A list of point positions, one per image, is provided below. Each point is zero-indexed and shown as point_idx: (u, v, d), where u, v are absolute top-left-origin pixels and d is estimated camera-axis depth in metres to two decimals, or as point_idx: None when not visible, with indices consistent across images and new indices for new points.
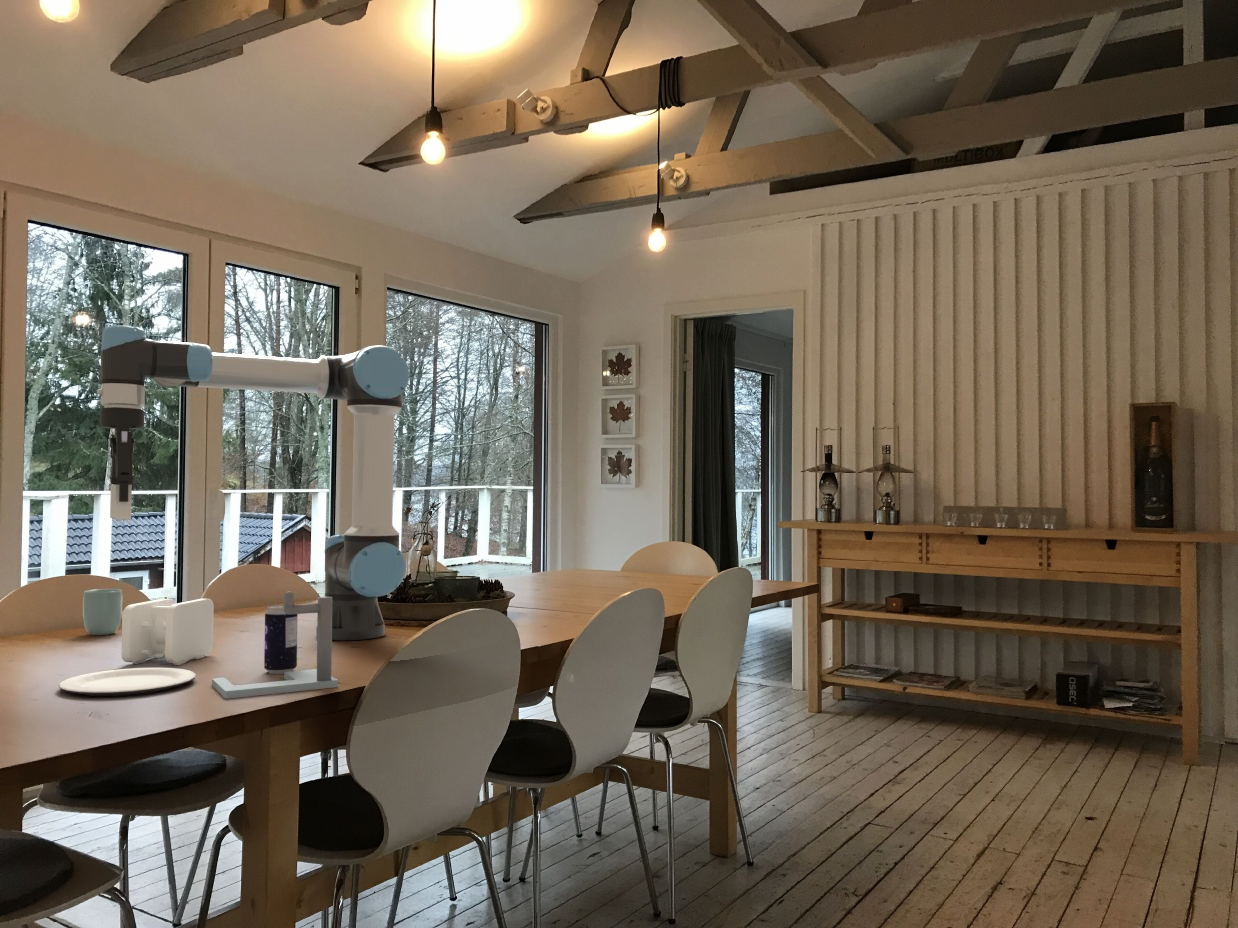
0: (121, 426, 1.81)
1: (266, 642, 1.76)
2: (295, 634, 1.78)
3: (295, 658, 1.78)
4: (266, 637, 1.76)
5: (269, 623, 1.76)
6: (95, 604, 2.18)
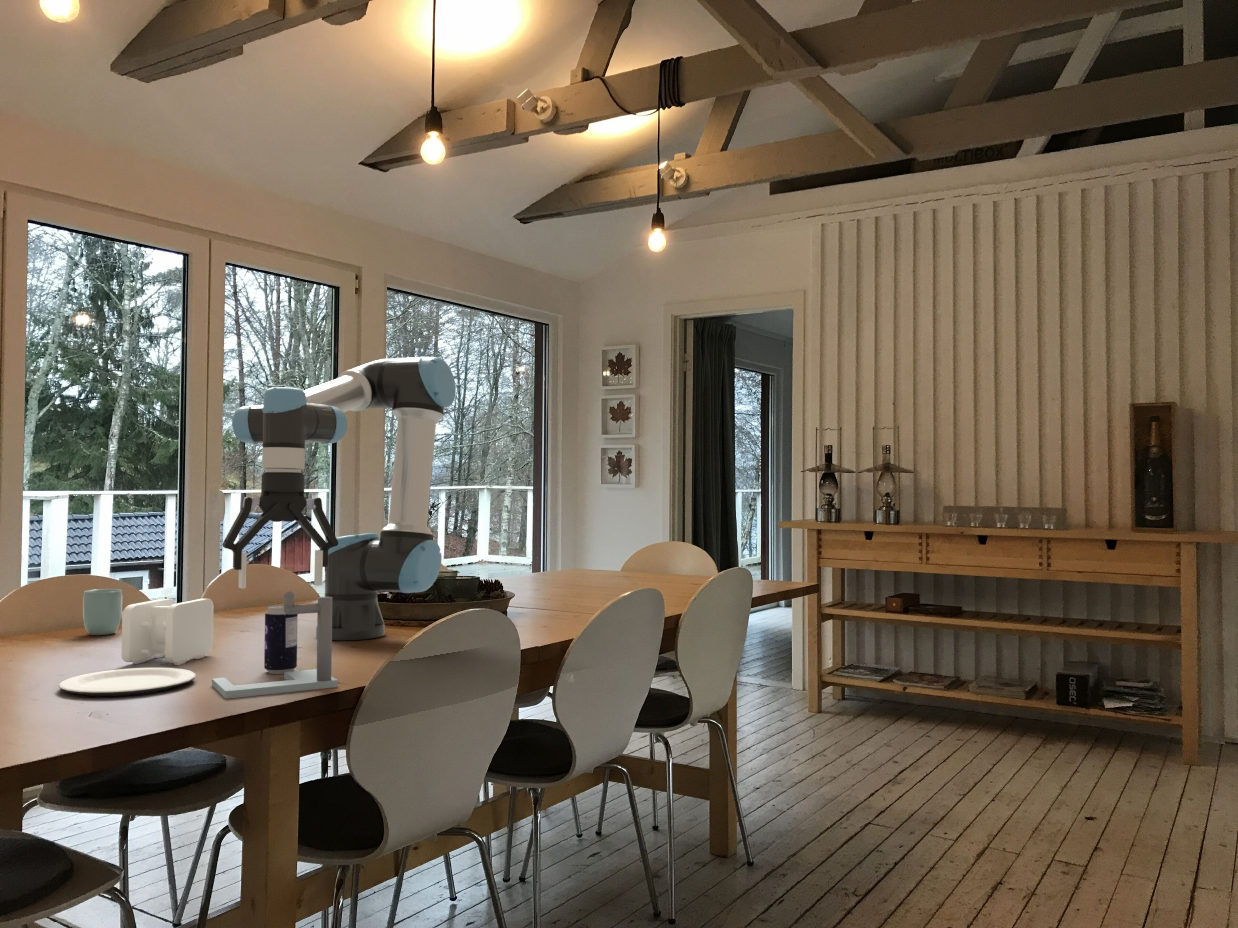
0: (261, 492, 1.77)
1: (266, 642, 1.76)
2: (295, 634, 1.78)
3: (295, 658, 1.78)
4: (266, 637, 1.76)
5: (269, 623, 1.76)
6: (95, 604, 2.18)
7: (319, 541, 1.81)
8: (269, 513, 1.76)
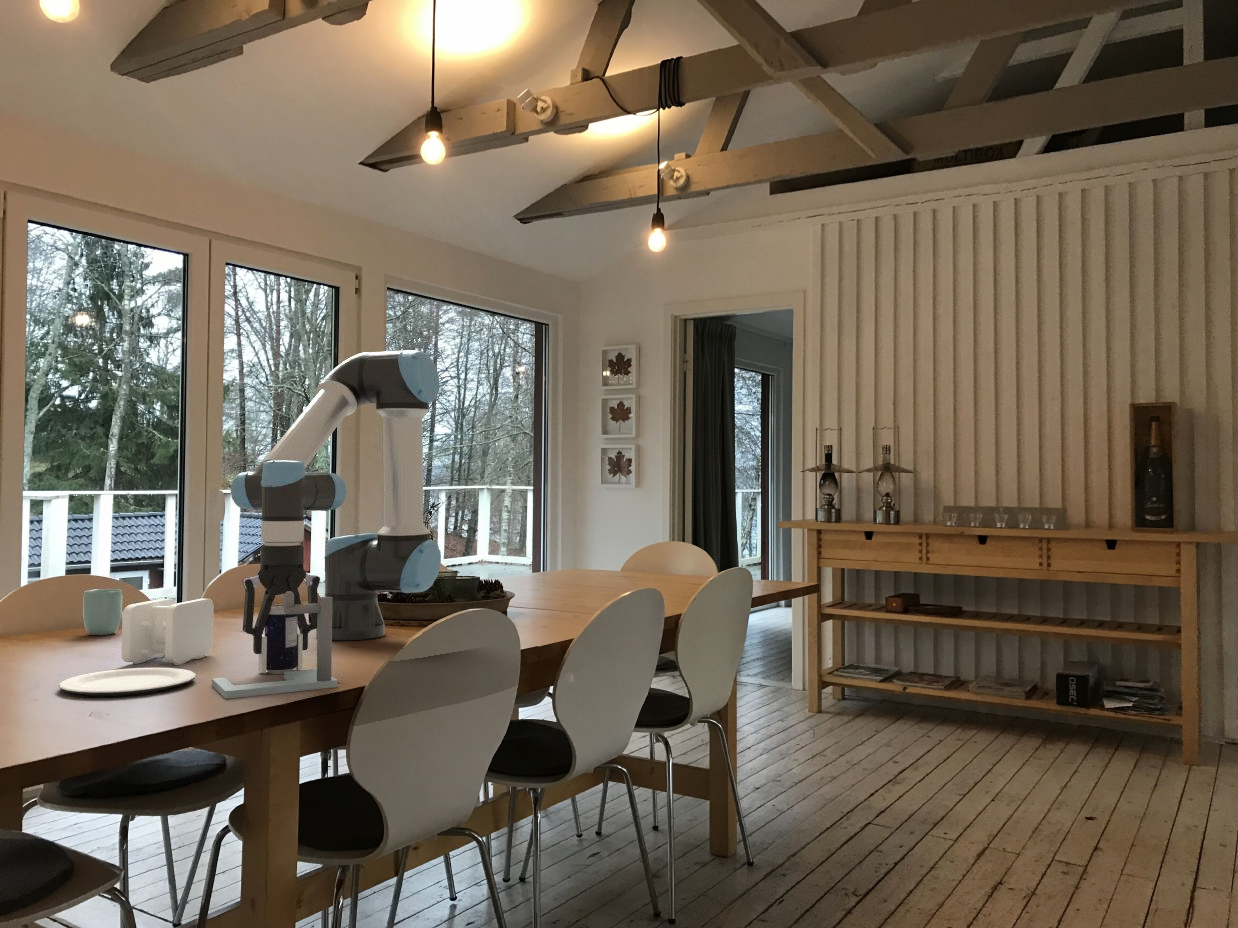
0: (260, 565, 1.77)
1: None
2: (295, 634, 1.78)
3: (295, 658, 1.78)
4: None
5: (269, 623, 1.76)
6: (95, 604, 2.18)
7: (302, 622, 1.79)
8: (272, 589, 1.76)
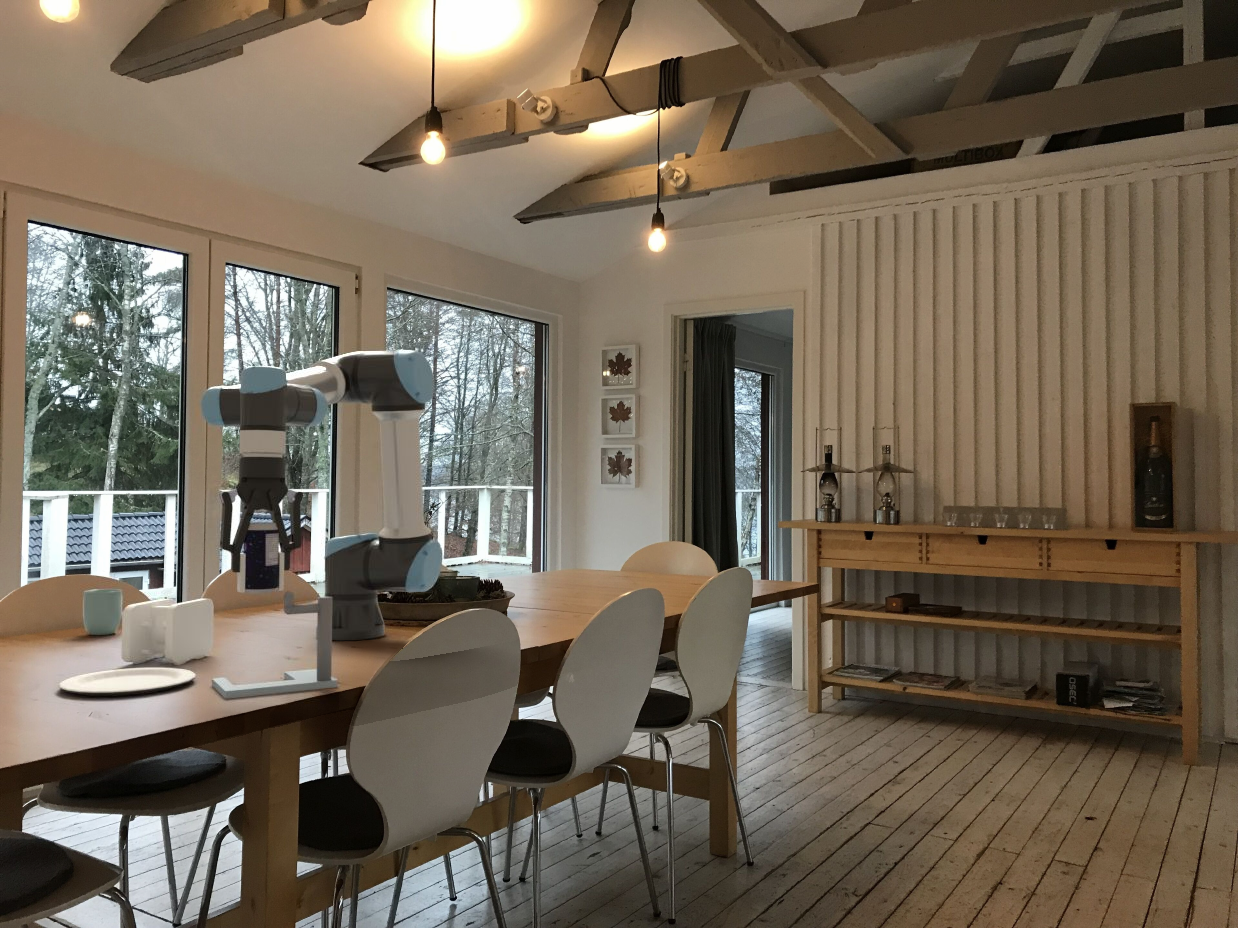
0: (239, 478, 1.65)
1: (245, 560, 1.64)
2: (276, 552, 1.66)
3: (276, 578, 1.66)
4: None
5: (248, 540, 1.64)
6: (95, 604, 2.18)
7: (283, 540, 1.67)
8: (251, 503, 1.64)
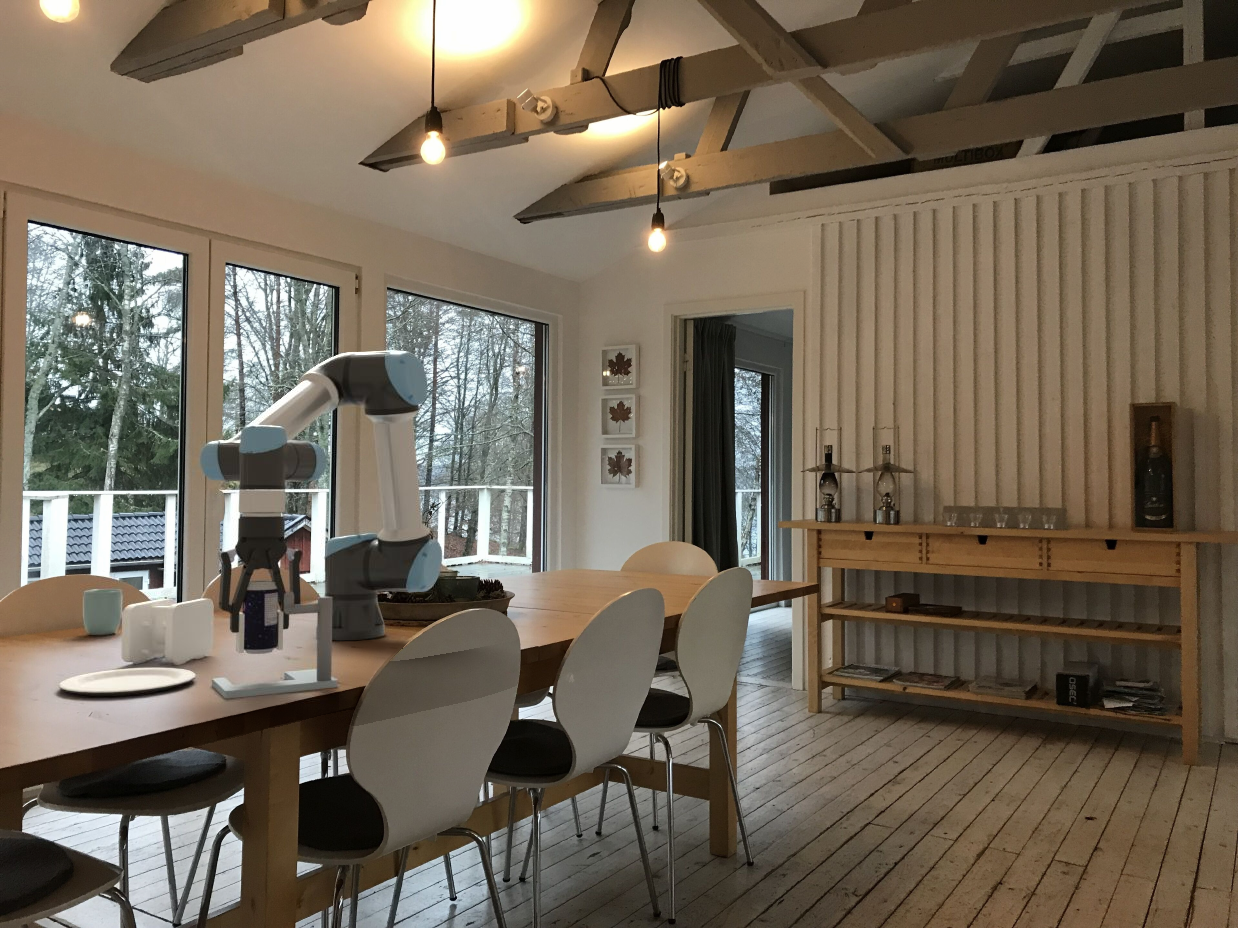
0: (238, 537, 1.65)
1: (244, 620, 1.64)
2: (275, 611, 1.66)
3: (275, 637, 1.66)
4: None
5: (247, 600, 1.64)
6: (95, 604, 2.18)
7: (282, 599, 1.67)
8: (250, 563, 1.64)
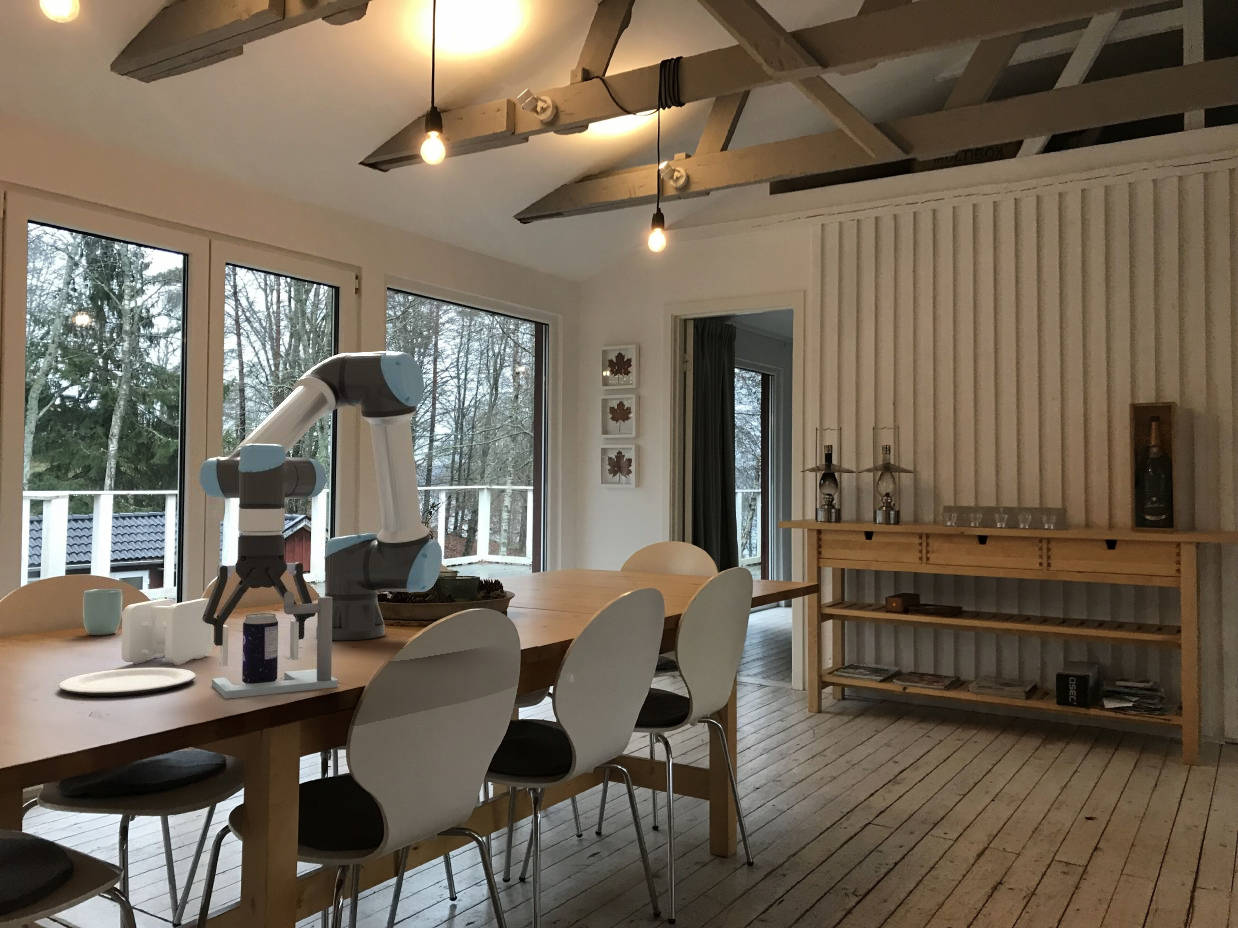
0: None
1: (244, 653, 1.64)
2: (275, 645, 1.66)
3: (275, 670, 1.66)
4: (244, 648, 1.64)
5: (247, 633, 1.64)
6: (95, 604, 2.18)
7: None
8: (247, 580, 1.64)
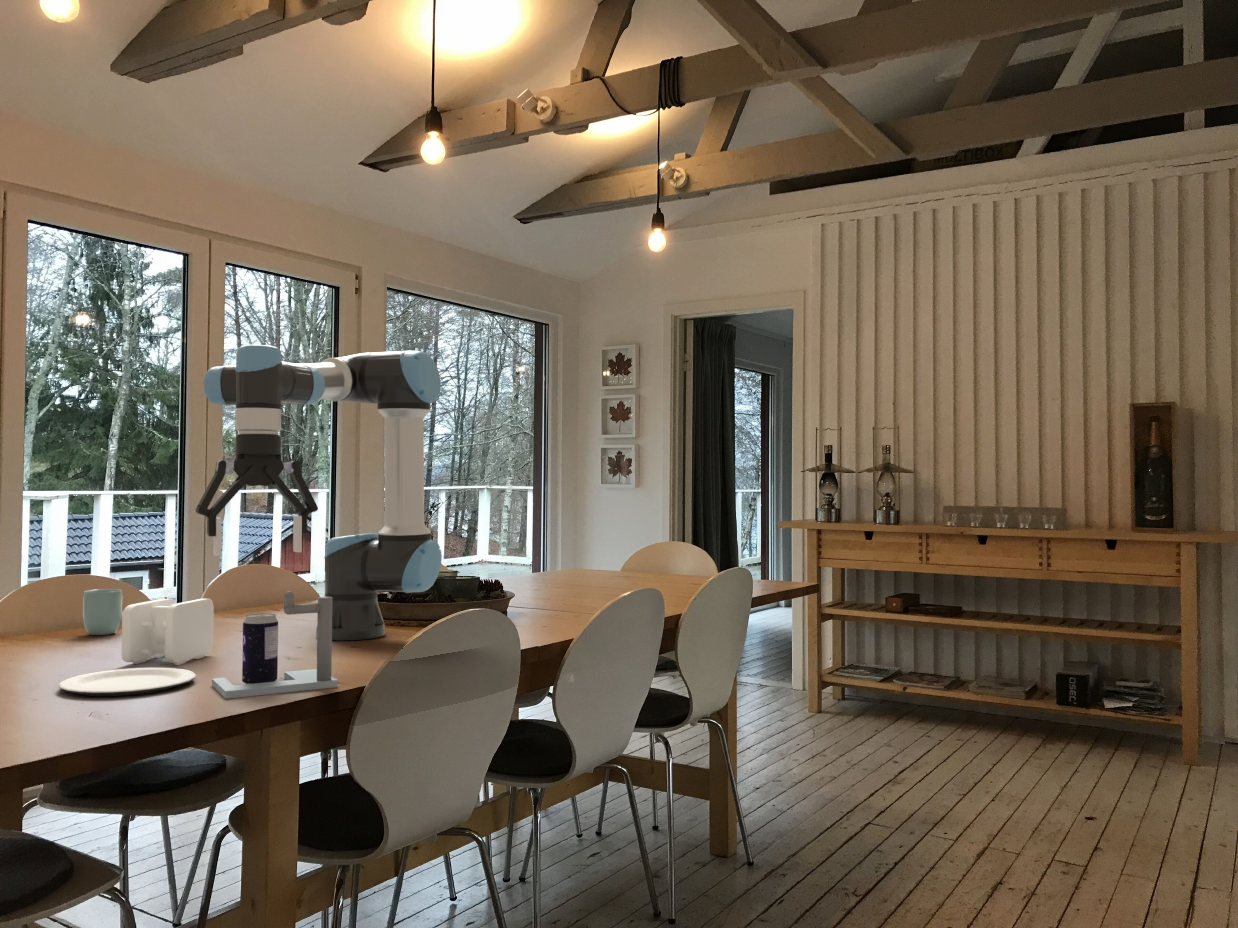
0: None
1: (244, 653, 1.64)
2: (275, 645, 1.66)
3: (275, 670, 1.66)
4: (244, 648, 1.64)
5: (247, 633, 1.64)
6: (95, 604, 2.18)
7: (298, 506, 1.73)
8: (244, 477, 1.68)
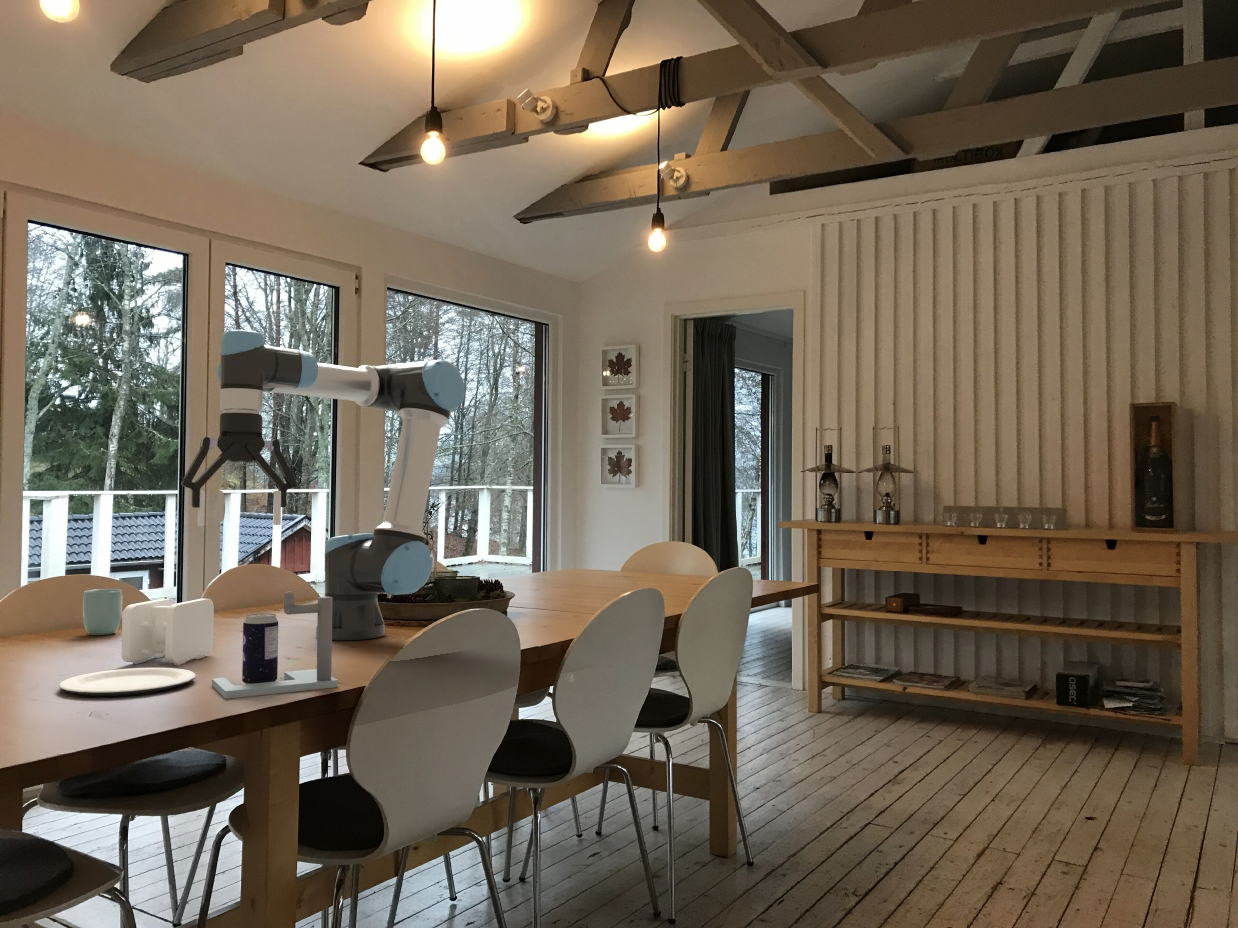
0: None
1: (244, 653, 1.64)
2: (275, 645, 1.66)
3: (275, 670, 1.66)
4: (244, 648, 1.64)
5: (247, 633, 1.64)
6: (95, 604, 2.18)
7: (277, 482, 1.85)
8: (227, 453, 1.80)
